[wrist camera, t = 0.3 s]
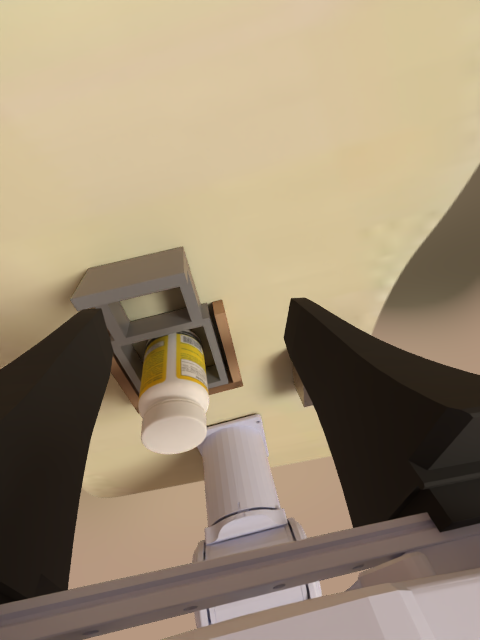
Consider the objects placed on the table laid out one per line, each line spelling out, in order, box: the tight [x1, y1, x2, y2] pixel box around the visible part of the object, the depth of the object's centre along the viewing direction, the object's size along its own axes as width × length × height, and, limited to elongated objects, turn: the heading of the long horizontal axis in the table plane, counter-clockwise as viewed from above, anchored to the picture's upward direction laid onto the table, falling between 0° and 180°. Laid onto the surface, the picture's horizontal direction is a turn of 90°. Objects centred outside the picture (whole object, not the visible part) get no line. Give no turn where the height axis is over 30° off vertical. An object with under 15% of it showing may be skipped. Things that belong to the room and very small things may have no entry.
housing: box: [107, 300, 243, 413], centre depth 23 cm, size 8×10×2 cm
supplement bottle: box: [138, 330, 209, 454], centre depth 20 cm, size 5×5×8 cm
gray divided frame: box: [70, 247, 229, 394], centre depth 20 cm, size 12×7×4 cm, turn 9°
